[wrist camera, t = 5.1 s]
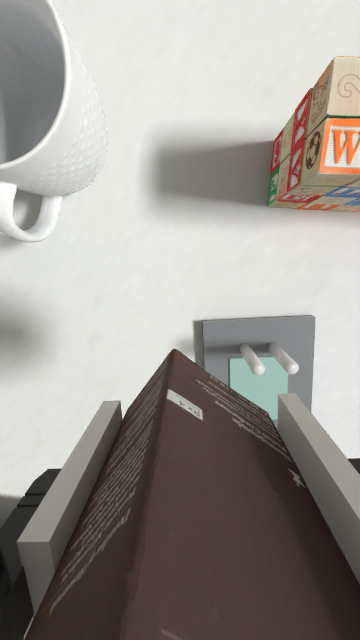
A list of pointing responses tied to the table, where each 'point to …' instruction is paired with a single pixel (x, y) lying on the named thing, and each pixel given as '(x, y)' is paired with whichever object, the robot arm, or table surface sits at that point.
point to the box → (199, 530)
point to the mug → (44, 115)
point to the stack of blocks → (321, 145)
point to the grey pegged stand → (262, 357)
